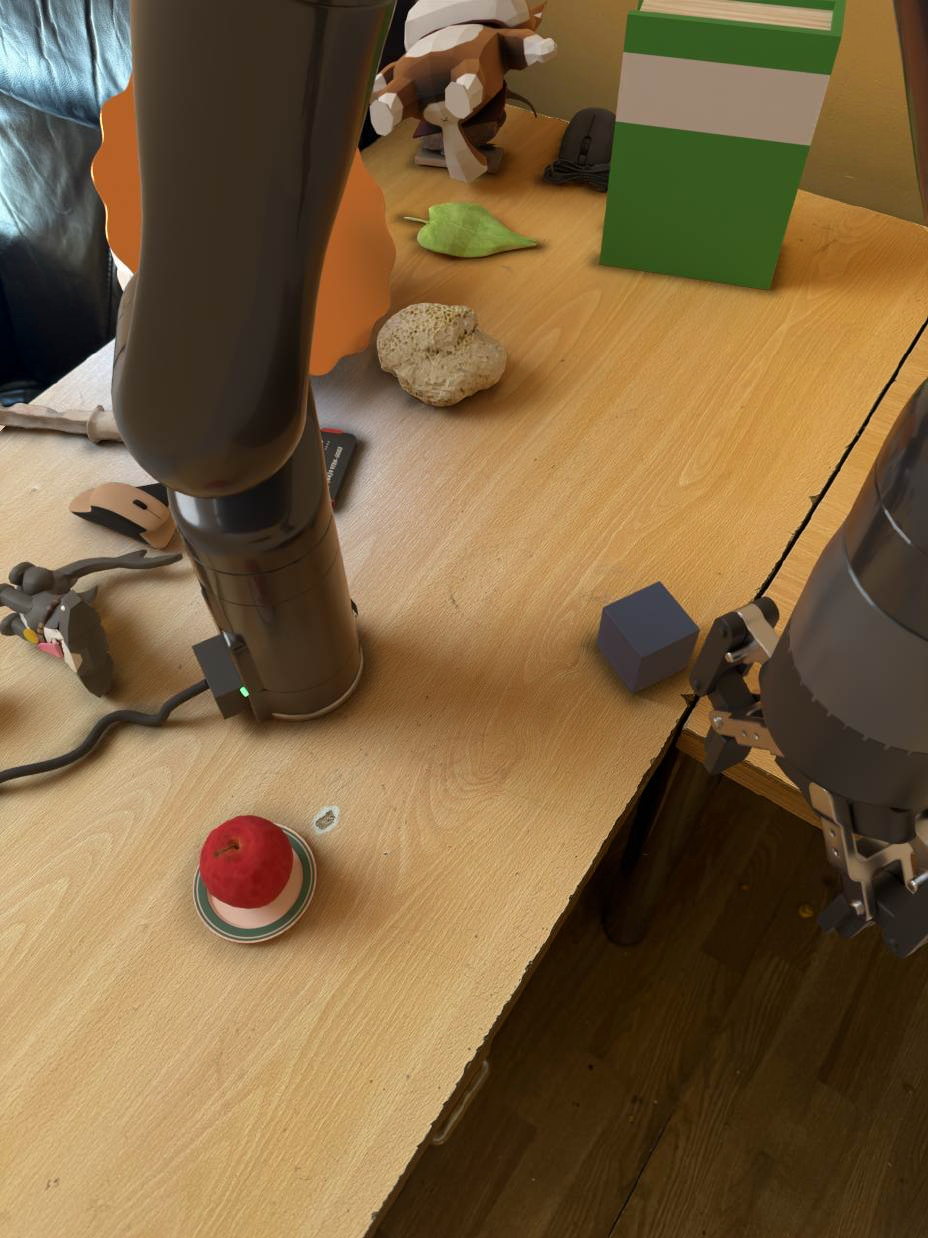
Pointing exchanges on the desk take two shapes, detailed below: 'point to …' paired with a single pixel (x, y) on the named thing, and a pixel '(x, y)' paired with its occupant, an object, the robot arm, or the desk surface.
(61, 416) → the carved wooden stick
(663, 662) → the cube
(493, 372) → the decorative item
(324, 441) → the black flat block
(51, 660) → the desk surface
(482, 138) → the figurine
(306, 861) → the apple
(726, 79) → the hardback book
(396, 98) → the toy
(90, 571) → the toy monster
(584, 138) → the computer mouse
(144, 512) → the computer mouse
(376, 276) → the orange scalloped disc
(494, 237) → the leaf
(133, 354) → the robot arm
